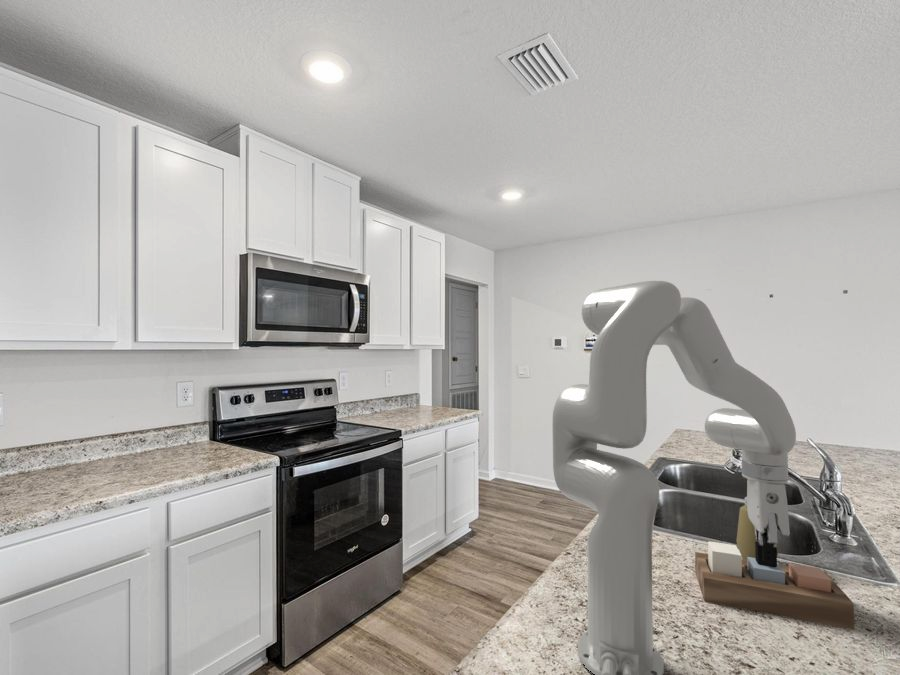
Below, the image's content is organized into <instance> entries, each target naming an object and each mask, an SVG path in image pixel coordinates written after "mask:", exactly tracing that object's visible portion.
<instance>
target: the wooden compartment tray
mask: <svg viewBox="0 0 900 675" xmlns="http://www.w3.org/2000/svg"><path fill="white" fill-rule="evenodd" d="M694 562H695V564H694V566H695V568H694V571H695V576H696V578H697V583H698V586H699V588H700V592H701V595H702V598H703V602H706V603H710V604H711V603H712V604H715V605H721V606H722V605H723V606H728V607H732V608H738V609H743V610H748V611H752V612H753V611H754V612H757V613H758V612H759V613H765V614H771V615H775V616H780V617H786V618H791V619H795V620H796V619H797V620H799V621H801V620H802V621H806V622H810V623H811V622H812V623H816V624H817V623H818V624H822V625H823V624H824V625H827V626H832V627H838V628H843V629H849V630H854V631H855V603H854V602H853V600H851V598H850V597H848V595H847V594H846V593H845V592H844V590H842V588H840V586H839V585H838V584H837V583H836V582H835V581H834V579H833V578H831V577H830V575H829V574H828V573H827V572H826V571H823V572H824V573H825V574H826V575H827V576H828V578H829V579H830V580H831V592H826V591H820V590H814V589H808V588H802V587H796V586H795V585H794V583H793V582H792V581H791V579H790V578H789V565H782V564H779V565H780V567H781V568H782V569H783V571H784V572H785V585H784V584H778V583H772V582H767V581H761V580H755V579H751V577H750V575H749V573H748V568H747V560H745V559H742V577H737V576H731V575H725V574H719V573H713V572H710V570H709V567H708V553H705V552H698V551H695V552H694Z"/></svg>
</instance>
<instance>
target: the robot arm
mask: <svg viewBox="0 0 900 675" xmlns="http://www.w3.org/2000/svg"><path fill="white" fill-rule="evenodd" d="M581 318H582V320H583V323H584V325H585V327H586V328H587V329H588V330H589V331H591V332H592V333H593V334H595V335H596V336H597V337H596V339H595V341H594V343H593V345H592V347H591V348H592V349H591V351H590V356H589V357H590V358H589V373H588V374H589V377H588V384H584V383H583V384H582V383H578V384H573V385H570V386H568V387H566V388H565V389H564V390H562V391H561V392H560V394H559V395H558V397H557V399H556V401H555V403H554V406H553V411H552V423H551V424H552V466H553V467H552V470H553V477H554V481H555V484H556V486H557V488H558V490H559V492H561V494H563V496H565V497H566V498H568V499H570V500H571V501H574V502H575V503H578V504H581V505H583V506H585V507H587V508H589V509H591V510H593V511H595V512H597V514H598V516H597V520H596V521H595V523H594V525H593V527H592V528H591V530H590V531H589V534H588V537H587V543H586V544H587V546H586V548H587V549H586V550H587V552H586V554H587V631H586V632H584V633H583V634H582V635H580V637H579V639H578V641H577V655H578V659H579V660H580V663H581V664H582V665H583V664H584V665H585V666H584V665H583V666H584V668H585V669H586V668H587V669H588V670H589V671H588V670H587V669H586V670H587V671H588V672H590V671H591V672H592V673H593V674H595V675H663V674H664V675H665V662H664V658H663V657H662V655H661V654H660V652H659V651H658V650H657V648H656V647H655V646H654V644H653V643H654V642H653V641H654V640H653V639H654V638H653V636H654V635H653V633H654V632H653V630H654V629H653V622H654V621H653V537H654V536H653V534H654V523H655V520H656V519H655V518H656V514H657V509H658V503H659V498H660V486H659V485H660V484H659V482H658V479H657V477H656V476H655V474H654V473H653V471H652V470H651V469H650V468H648V466H646V465H645V464H643V463H642V462H640V461H638V460H636V459H633V458H630V457H627V456H624V455H622V454H621V455H620V454H616V453H612V452H609V451H604V450H601V449H598V445H601V446H606V447H609V448H616V449H623V450H624V449H633V448H635V447H638V446H639V445H641V443H642V442H643V441H644V439H645V437H646V432H647V427H648V426H647V425H648V423H647V422H648V420H647V419H648V418H647V417H648V412H647V411H648V410H647V409H648V408H647V404H648V403H647V368H648V366H647V365H648V358H649V355H650V352H651V350H652V348H653V347H654V346H656V345H657V346H662V345H663V346H666V347H668V348H669V350H670V352H671V354H672V355H673V357H674V359H675V361H676V363H677V365H678V366H679V368H680V370H681V372H682V374H683V376H684V378H685V380H686V381H687V382H688V384H690V385H691V386H692V387H694V388H696V389H698V390H700V391H702V392H704V393H706V394H708V395H711V396H714V397H715V398H718V399H721V400H722V401H725V402H728V403H730V404H732V405H734V406H736V407H738V408H739V409H737V408H729V407H725V408H719V409H716V410H713V411H712V412H710V413H709V415H708V416H707V417H706V419H705V422H704V431H705V434H706V436H707V437H708V438H709V440H711V441H712V442H713V443H715V444H716V445H720V446H722V447H726V448H731V449H736V450H741V476H742V478H745V479H747V481H746V484H747V485H746V486H747V487H746V491H747V492H746V497H747V510H748V517H749V519H750V521H751V522H752V523H753V525H754V526H755V539H756V541H755V559H756V561H757V563H758V564H759V565H764V566H770V567H777V562H778V555H777V544H778V545H779V542H778V541H779V540H778V531H779V532H780V533H781V535H782V536H784V537H785V538H788V537H789V536H790V533H791V532H790V521H789V520H790V519H789V507H788V498H787V490H786V484H787V483H788V482H789V465H788V464H789V463H788V462H789V460H788V459H789V458H788V455H789V454H788V453H790V452H791V451H792V450H793V449H794V447H795V444H796V440H797V432H796V427H795V424H794V421H793V418H792V416H791V414H790V412H789V410H788V408H787V405H786V403H785V402H784V400H783V398H782V396H781V395H780V394H779V393H778V392H777V391H776V389H774V388H773V387H772V386H770V385H769V384H768V383H766V381H764V380H763V379H761V378H760V377H758V375H756V374H754V373H753V372H752V371H750V370H748V369H747V368H745V367H743V366H741V365H740V364H739V363H737V362H736V361H735V359H734V357H733V355H732V352H731V350H730V348H729V347H728V345H727V342H726V341H725V339H724V337H723V335H722V332H721V331H720V329H719V326H718V325H717V322H716V321H715V318H714V316H713V314H712V313H711V311H710V309H709V307H708V306H707V304H706V303H704V302H703V301H702V300H700V299H697V298H695V297H688V296H687V297H686V296H685V297H682V296H681V292H680V290H679V288H678V287H677V286H676V285H675V284H673V283H671V282H669V281H665V280H646V281H640V282H634V283H628V284H627V283H626V284H624V285H623V284H622V285H618V286H610V287H605V288H601V289H600V288H599V289H597V290H594V291H593V292H591V293H590V294H588V295H587V296H586V298H585V299H584V301H583V303H582V306H581ZM777 540H778V541H777ZM591 672H590V673H591ZM592 673H591V674H592ZM593 674H592V675H593Z"/></svg>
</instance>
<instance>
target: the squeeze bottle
mask: <svg viewBox="0 0 900 675" xmlns="http://www.w3.org/2000/svg"><path fill="white" fill-rule="evenodd" d="M738 514H739V515H738V522H737V523H738V524H737V532H736V533H737V534H736V540H735V541H736V544H737V545H736V546H737V548H738V550H739V552H740V554H741V555H742V559H745V560H747V557H752V558H755V541H756V539H755V526H754V525H753V523H752V522H751V521H750V519H749V517H748V510H747V496H745V497H744V505H742V506H740V507H739V513H738ZM777 541H779V540H778V539H777ZM779 552H780V550H779V543H778V544H777V556H778V555H779Z"/></svg>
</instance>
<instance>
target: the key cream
mask: <svg viewBox="0 0 900 675" xmlns="http://www.w3.org/2000/svg"><path fill="white" fill-rule="evenodd" d="M707 554H708V567H709V570H710V572H713V573H719V574H725V575H731V576H737V577H742V555H741V553H740V551H739V548H738V545H735V544H730V543H725V542H724V543H721V542H717V541H707Z"/></svg>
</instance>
